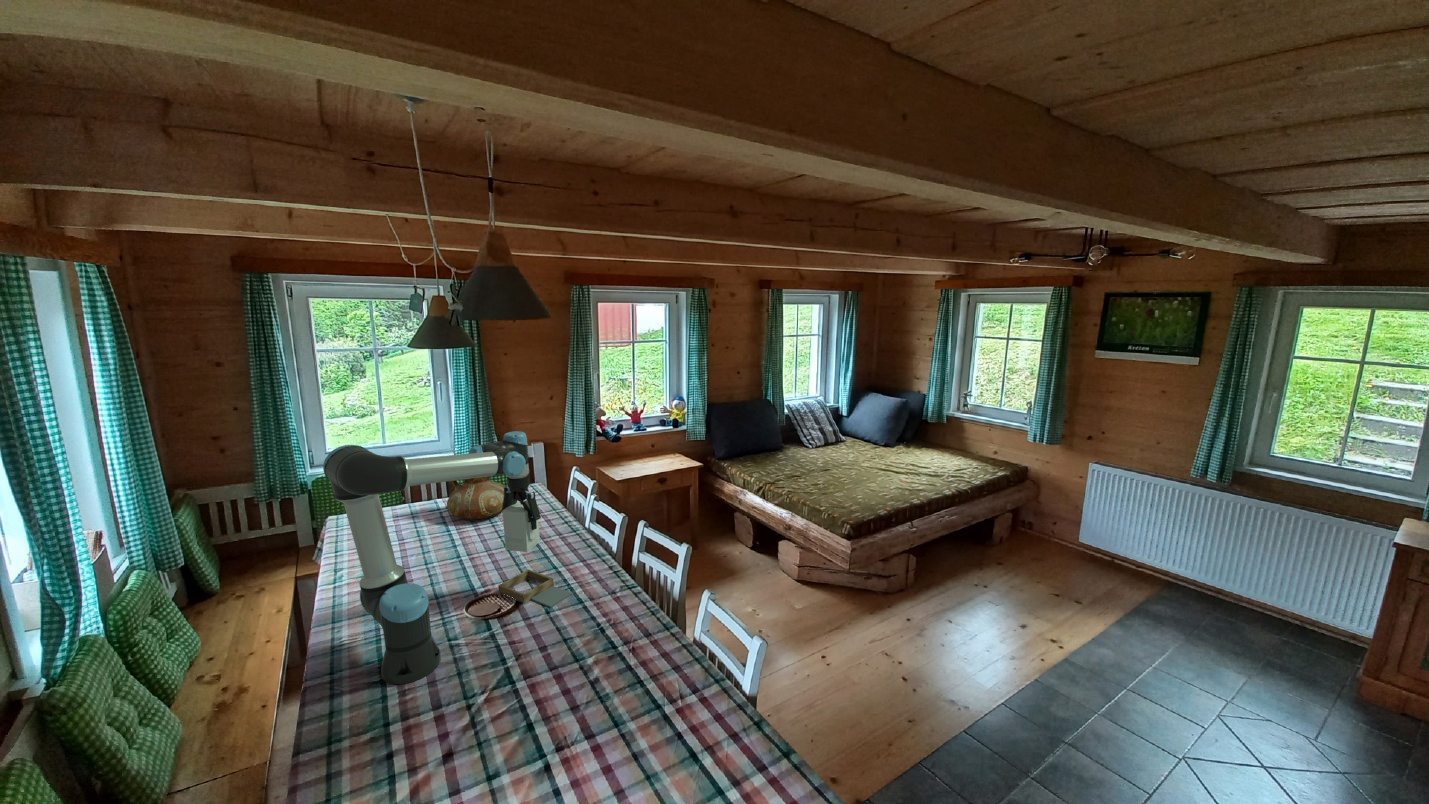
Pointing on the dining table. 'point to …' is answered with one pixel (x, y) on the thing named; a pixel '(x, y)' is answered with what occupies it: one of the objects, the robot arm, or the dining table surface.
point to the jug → (476, 499)
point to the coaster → (551, 596)
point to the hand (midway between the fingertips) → (522, 534)
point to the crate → (521, 597)
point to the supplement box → (518, 529)
